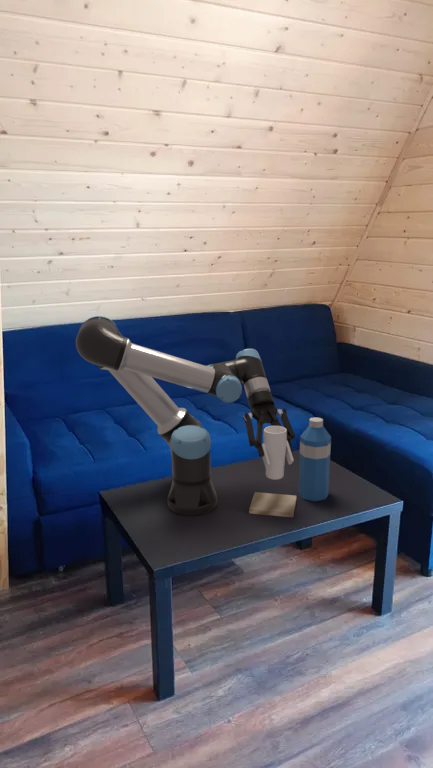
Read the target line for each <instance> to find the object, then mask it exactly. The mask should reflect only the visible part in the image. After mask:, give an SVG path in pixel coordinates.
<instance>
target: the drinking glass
mask: <svg viewBox="0 0 433 768" xmlns="http://www.w3.org/2000/svg"><path fill="white" fill-rule="evenodd" d="M263 428H264V427H263ZM263 444H265V447H266V450H267V454H268V457H269V461H270V466H269V467H268V468H265V476H266V478H268V479H270V480H275V481H277V480H281V479H283V478H284V476H285V462H286V445H287V430H286V428H284V426H283V425H282V426H272V425H269V426H266V427H265V428H264V429H263Z"/></svg>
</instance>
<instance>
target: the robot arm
mask: <svg viewBox="0 0 433 768" xmlns="http://www.w3.org/2000/svg"><path fill="white" fill-rule="evenodd" d="M75 348H76V351H77V353H78V354H79V355H80V356H81V358H82V359H83V360H85V361H86V362H88V363H91V364H92V365H96V366H98V368H99V369H100V370H104V371H105V370H107V371H109V373H110V374H111V376H113V377H114V378H115V380H116V381H117V382H118V384H120V385H121V386H122V387H123V388H124V389H125V391H126V392H127V393H128V394H129V395H130V396H131V398H133V399H134V401H135V402H136V404H138V405H139V406H140V408H142V409H143V411H144V412H145V413H146V415H148V417H150V419H151V420H152V421H153V422H154V423H155V424H156V426H157V434H159V436H160V437H161V439H163V440H164V441H165V442H166V443H167V445H168V446H169V449H170V455H171V470H172V471H171V473H172V475H171V476H172V482H171V486H170V488H169V491H168V492H169V493H168V495H167V507H168V509H169V510H170V511H172V512H173V513H175V514H178V515H183V516H200V515H204V514H207V513H210V512H211V511H213V510H214V509H215V508H216V507H217V506H218V505H217V504H218V497H217V496H218V495H217V492H216V490H215V487H214V484H213V481H212V469H211V468H212V464H211V463H212V461H211V459H212V457H211V455H212V454H211V446H212V441H211V435H210V433H209V431H208V430H207V429H205V428H204V427H203V425H202V423H201V422H200V421H199V419H197V418H196V417H195V416H193V415H192V414H191V413H190V412H189V411H188V410H187V409H186V408H184V407H178V405H176V404H175V402H174V401H173V400H172V398H170V396H169V395H168V393H166V391H164V389H163V388H162V387H161V386H160V385H159V383H158V382H156V380H155V379H158V380H161V381H164V382H168V383H171V384H175V385H178V386H181V387H185V388H188V389H191V390H195V391H198V392H202V393H205V394H208V395H211V396H214V397H217V398H218V399H219V400H221V401H222V402H224V403H228V404H230V403H234V402H236V401H237V400H238V399H240V397H241V395H242V393H243V387H244V391H245V394H246V397H247V402H248V405H249V408H250V412H245V413H244V414H243V416H242V420H243V421H244V423H245V425H246V427H245V428H246V433H247V439H248V445H249V446H250V447H255V449H256V450H257V453H258V456H259V457H260V458H262V460H263V461H262V462H263V464H264V468H265V469H266V468H268V467H269V466H270V461H269V457H268V454H267V450H266V447H265V444H264V443H263V431H264V429H263V428H264V425H265V424H270V426H282V427H284V428H286V430H287V445H286V455H285V458H286V460H287V463H288V465H292V464H293V463H294V461H295V460H294V457H293V454H292V452H293V451H294V448H293V444H292V442H291V441H293V440H294V439H295V437H296V434H295V431H294V429H293V426H292V425H291V421H290V420H289V417H288V412H287V408H282V409H280V408H278V407H277V406H276V405H275V400H274V398H273V394H272V392H271V388H270V385H269V382H268V379H267V376H266V372H265V368H264V366H263V361H262V359H261V356H260V354H259V352H258V351H257V350H256V349H255V348H245V349H242V350H240V351H238V353H236V356H235V359H232V360H229V361H227V360H226V361H223V362H218V363H211V364H208V365H205V364H201V363H197V362H195V361H194V362H193V361H191V360H188V359H184V358H181V357H179V356H178V357H177V356H174V355H172V354H168V353H165V352H162V351H159V350H156V349H153V348H152V349H151V348H148V347H146V346H142V345H139V344H136V343H132V341H131V340H130V339H129V338H128V337H126V336H124V335H122V333H121V332H120V330H119V328H118V327H117V324H116V323H115V322H114V321H113V320H112V319H110V318H108V317H106V316H102V315H96V316H92V317H90V318H88V319H86V320H84V322H82V324H80V327H79V329H78V332H77V335H76V338H75ZM241 383H242V384H243V387H242V384H241ZM277 414H278V417H279V418H280V421H281V422H280V421H279V418H278V417H277ZM252 419H254V420H255V421H256V437H255V432H254V427H253V422H252V421H253V420H252Z"/></svg>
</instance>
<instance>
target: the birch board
mask: <svg viewBox="0 0 433 768" xmlns="http://www.w3.org/2000/svg"><path fill="white" fill-rule="evenodd" d="M297 497H298V496H297V495H295V494H294V495H291V494H283V493H282V494H281V493H271V492H270V493H269V492H261V491H260V492H259V491H258V492H257V491H254V494H253V497H252V500H251V503H250V505H249V509H248V513H249V514H252V515H253V514H254V515H264V516H272V517H273V516H275V517H284V518H294V517H295V515H294V514H295V511H296V510H295V509H296V504H297V500H298V499H297Z"/></svg>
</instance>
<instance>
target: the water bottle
mask: <svg viewBox="0 0 433 768" xmlns="http://www.w3.org/2000/svg"><path fill="white" fill-rule="evenodd" d="M331 446H332V436H331V434H330V433H329V432H328V431H327V429H326V428H325V426H324V419H323V418H322V417H310V418H309V421H308V426H307V428H305V430H303V432H302V434H301V435H300V436H299V460H298V461H299V463H298V464H299V466H298V467H299V470H298V471H299V472H298V495H299V496H300V497H301V498H302V499H303V500H308V501H311V502H319V501H325V500H326V499H327V498H328V496H329V493H330V492H329V491H330V472H331V471H330V469H331Z"/></svg>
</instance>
